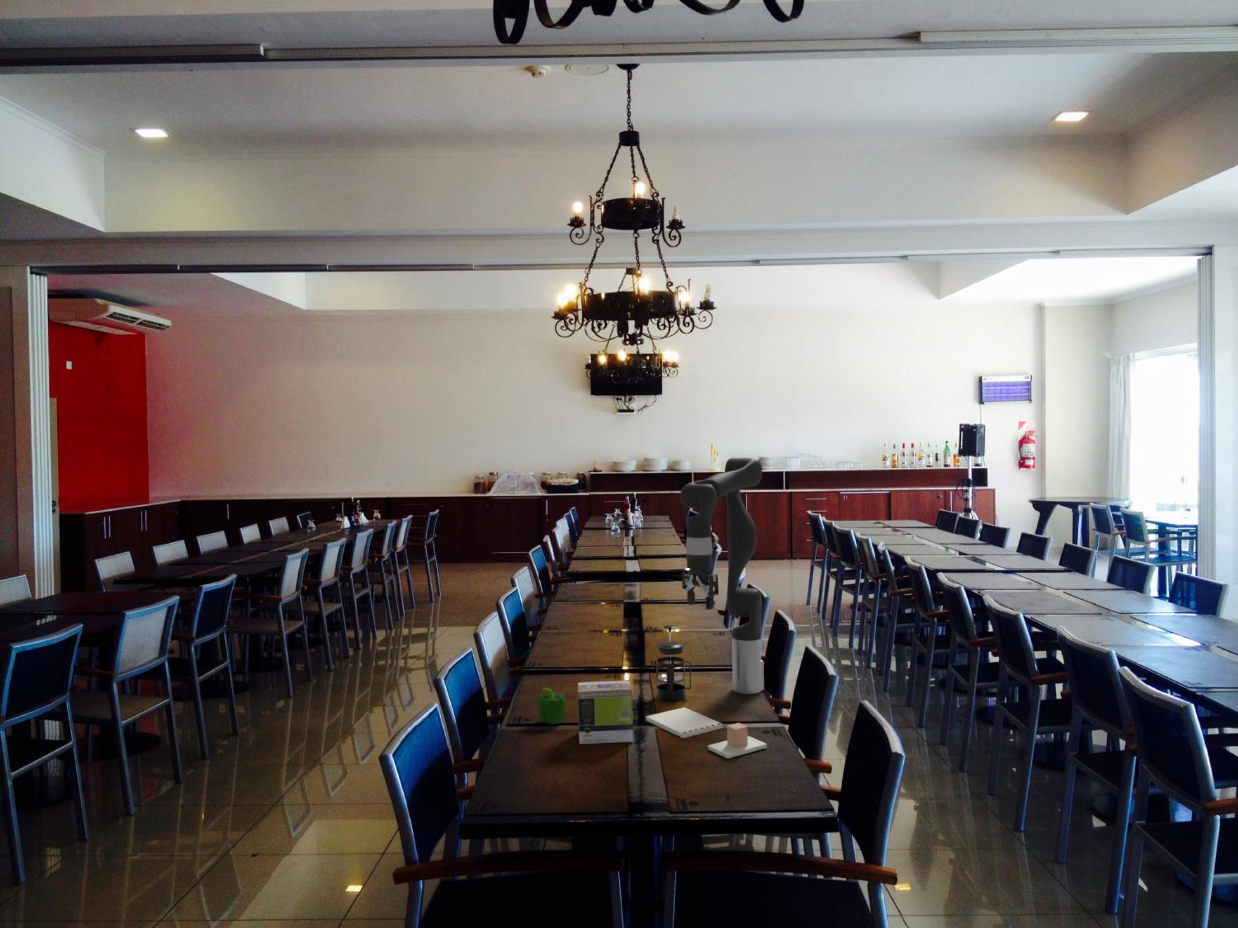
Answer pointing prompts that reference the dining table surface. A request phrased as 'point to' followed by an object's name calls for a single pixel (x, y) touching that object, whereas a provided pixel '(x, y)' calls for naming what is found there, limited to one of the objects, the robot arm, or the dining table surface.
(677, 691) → the french press
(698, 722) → the white notebook
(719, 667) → the dining table surface
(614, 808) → the dining table surface
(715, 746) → the stub
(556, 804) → the dining table surface
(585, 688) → the tea box
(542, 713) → the bell pepper
